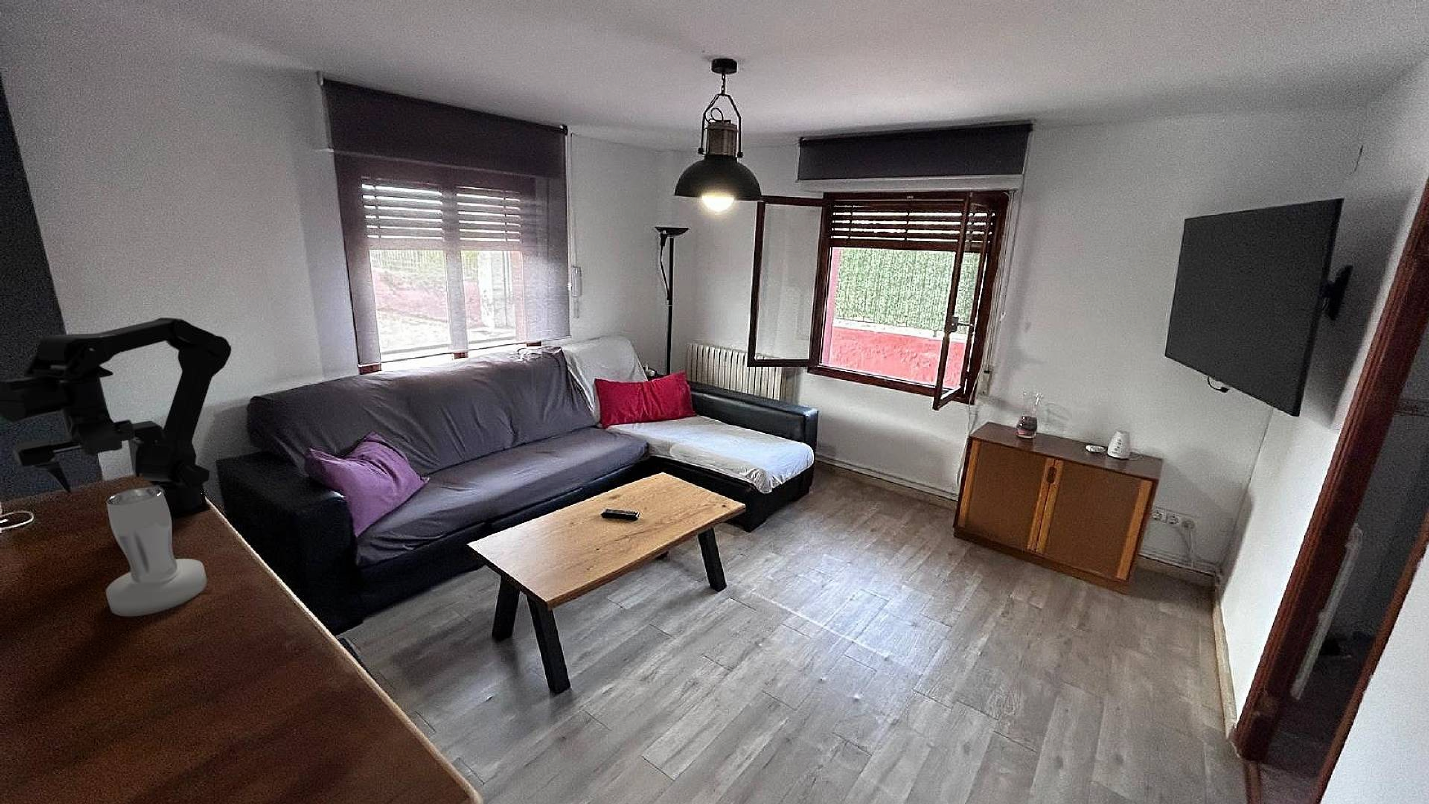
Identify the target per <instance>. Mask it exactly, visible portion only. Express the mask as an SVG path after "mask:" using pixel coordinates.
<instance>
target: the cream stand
mask: <svg viewBox="0 0 1429 804" xmlns="http://www.w3.org/2000/svg"><path fill="white" fill-rule="evenodd" d="M175 560H176V562H177V564H178V565H179V567H180V572H179V574H178V575H177V576H175V577H174V578H172V579H171V580H169V581H166V582H164V583H161V584H158V585H154V586H149V587H135V586H133V585H132V584H131V571H129V572H127V573H125V574H123V575H121V576H120V577H118V578H116V579H115V580H114V581H112V582H111V583H110V584H109V585H108V587H107V588H106V590H105V595H106V597H107V602H108V605H109V608H110V611H111V613H113V614H114V615H116V616H121V617H138V616H146V615H152V614H155V613H159V612H160V613H161V612H163V611H166V610H168V609H171V608H174V607H177V606H179V605H182V604H184V603H185V602H188V601H189V600H192V599H193V598H194V597H196V596H198V595H199V594H200V593H201V592H202V591H203V590H204V589H205V588H206V586H207V583H208V579H207V575H206V570H205V567H204V564H203V563H202V561H200V560H198V559H193V558H192V559H191V558H177V559H176V558H175Z"/></svg>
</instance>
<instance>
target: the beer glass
mask: <svg viewBox="0 0 1429 804" xmlns="http://www.w3.org/2000/svg"><path fill="white" fill-rule="evenodd" d="M105 502H106V506H107V513H108V517H109V523H110V527H111V531H112V533H113V535H114V537H115V539H116V542H117V544H118V545H119V547H120V549H121V550H122V552H123V553H124V555H125V557H126V559H127V562H128V563H129V566H130V568H129V569H130V572H131V584H132V585H133V586H135V587H149V586H154V585H158V584H161V583H164V582H166V581H169V580H171V579H172V578H174V577H175V576H177V575H178V574H179V572H180V567H179V565H178V564H177V562H176V560H175V559H176V558H175V556H174V552H173V544H172V543H173V541H172V540H173V537H172V536H173V534H172V531H173V525H172V523H173V522H172V518H171V516H170V511H169V508H168V505H167V502H166V499H165V497H164V494H163V490H162V489H161V488H160V487H158V486H157V487H155V486H148V487H147V486H146V487H139V488H138V487H137V488H134V489H129V490H125V491H122V492H119V493H116V494H114V495H111V496H110V497H109V498H107V500H106V501H105Z"/></svg>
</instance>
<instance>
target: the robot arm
mask: <svg viewBox="0 0 1429 804" xmlns="http://www.w3.org/2000/svg"><path fill="white" fill-rule="evenodd" d="M162 342H166V343H167V344H168V345H169V347H172V348H173V349H176V350H177V351H178V352H177V353H178V354H177V360H178V364H179V366H180V369H181V374H180V378H179V381H178V384H177V387H176V389H175V392H174V395H173V400H172V401H171V405H170V407H169V411H168V414H167V417H166V420H165V422H164V426H162V425H159V424H158V423H156V422H154V421H152V420H146V421H140V422H134V423H133V422H132V421H131V420H130V419H124V420H119V421H114V420H113V419H112V418H111V414H110V412H109V409H108V405H107V402H106V401H107V400H106V397H105V395H104V394H105V392H104V390H103V385H102V381H101V379H102V378H106V377H112V376H113V375H114V371H112V370H109V369H106V368H104V367H102V366H101V365H103V364H105V363H106V362H109V361H110V360H111V359H113V358H114V356H117V355H118V354H121V353H125V352H128V351H132V350H136V349H140V348H142V347H143V348H144V347H147V346H151V345H155V344H159V343H162ZM231 353H232V345H230V343H229V341H228V340H227V339H226V338H225V337H223V336H222V335H221V336H220V335H216V334H214V333H213V332H210V331H207V330H205V329H203V328H200V327H197V326H195V325H193V324H192V323H189V322H188V321H186V320H184V319H182V318H179V317H178V318H175V317H158V318H156V319H154V320H150V321H146V322H142V323H138V324H137V323H136V324H133V325H128V326H124V327H119V328H115V329H110V330H106V331H102V332H97V333H95V332H94V333H72V334H71V333H70V334H55V335H54V334H53V335H52V334H51V335H48V336H45V337H43V338H42V339H40V340H39V343H38V345H37V348H36V352H35V354H34V356H33V358H32V359H31V361H30V363H29V365H28V367H27V369H26V370H25V372H24V373H23V377H22V378H17V379H4V380H0V417H2V418H3V419H4V420H6V421H10V422H12V423H17V422H22V421H25V420H29V419H34V418H38V417H42V416H45V415H50V414H54V413H58V412H61V415H62V418H63V419H62V420H63V422H64V426H65V431H66V434H67V437H68V440H64V441H58V442H52V443H49V441H47V440H46V439H45V438H43V439H38V440H32V441H27V442H21V443H16V444H14V446H13V447H12V452H13V457H14V460H15V461H17V463H18V464H19V465H20V466H21V467H29V466H32V468H33V469H44V470H46V471H47V472H48V473H49V474H51V476H52V477H53V478H54V479H55V480H56V482H57V483H58V484H59V485H60V486H61V488H62V489H64V491H65V492H66V493H67V494H72V490H71V486H70V484H69V482H68V479H67V478H66V475H65V474H64V471H63V470H62V466H61V463H60V461H59V460H58V459H57V458H55V457H56V455H57V454H60V453H61V454H62V453H66V452H72V451H77V450H83V453H84V454H85V455H88V456H95V455H99V454H101V453H106V452H109V451H113V452H115V451H116V452H117V451H119V450H121V449H123V442H126V441H127V443H128V450H129V456H130V461H131V463H130V464H131V468H132V472H133V474H134V477H135V478H137V479H139V478H140V476H141V477H143V479H145V480H147V481H148V482H149V483H150V485H151V487H155V486H157V487H159V488H161V489H162V490H163V494H164V497H165V499H166V502H167V505H168V508H169V511H170V516H171V519H177V518H180V517H184V516H187V515H191V514H195V513H198V512H202V511H205V510H208V509H210V508H212V507H211V505H210V504H209V503H208V502H207V497H206V492H205V487H204V483H206V482H208V481H209V480H210V479H209V478H210V474H211V473H210V472H211V471H210V470H208V469H206V468H204V467H203V466H200V465H198V464H196V462H197V453H196V449H195V447H194V445H193V444H194V443H193V438H194V435H195V432H196V429H197V426H198V422H199V420H200V416H201V412H202V410H203V407H204V404H205V401H206V397H207V394H208V391H209V388H210V385H211V381H212V379H213V377H214V376H215V375H217V374H218V373H219V372H220V371H221V370H222V369H223V368H225V366H226V364H227V362H228V360H229V358H230V356H231ZM56 368H57V369H56ZM201 493H202V494H201ZM205 498H206V499H205Z"/></svg>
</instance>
